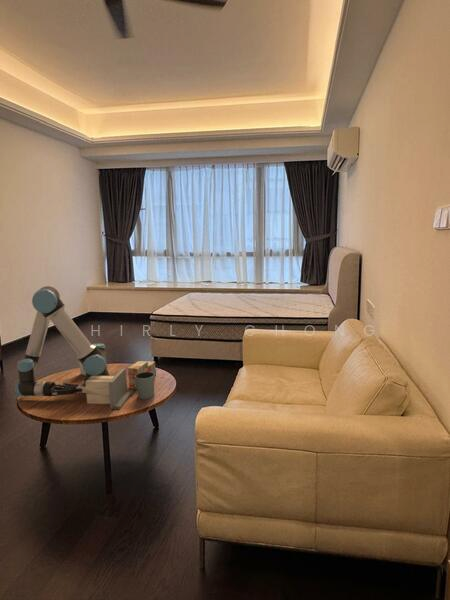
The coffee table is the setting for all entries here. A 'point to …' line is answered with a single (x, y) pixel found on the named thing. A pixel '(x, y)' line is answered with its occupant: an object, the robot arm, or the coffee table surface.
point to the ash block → (98, 389)
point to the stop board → (119, 390)
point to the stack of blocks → (139, 371)
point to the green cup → (145, 384)
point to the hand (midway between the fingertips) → (89, 389)
